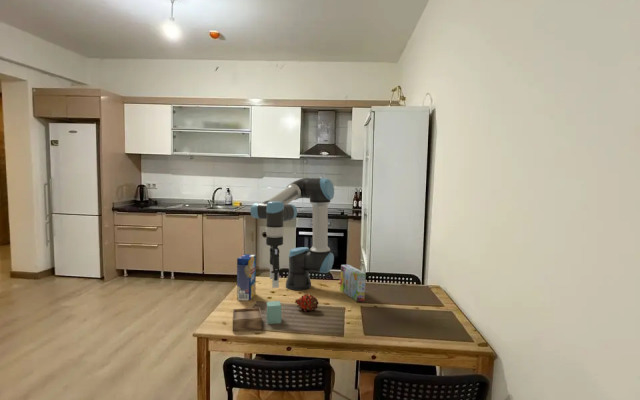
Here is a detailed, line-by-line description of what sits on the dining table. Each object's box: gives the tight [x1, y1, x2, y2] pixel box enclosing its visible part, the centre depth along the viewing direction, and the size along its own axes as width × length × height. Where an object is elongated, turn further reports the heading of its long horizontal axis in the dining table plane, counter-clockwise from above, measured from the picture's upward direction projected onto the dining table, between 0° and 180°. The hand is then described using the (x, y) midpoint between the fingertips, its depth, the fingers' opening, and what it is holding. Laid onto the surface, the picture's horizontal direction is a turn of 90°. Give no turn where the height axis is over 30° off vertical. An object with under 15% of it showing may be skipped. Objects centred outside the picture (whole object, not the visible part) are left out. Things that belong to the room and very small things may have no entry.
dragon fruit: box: [294, 293, 319, 312], centre depth 175 cm, size 8×8×12 cm
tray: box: [232, 307, 263, 332], centre depth 157 cm, size 12×12×5 cm
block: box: [266, 300, 282, 325], centre depth 161 cm, size 6×6×8 cm
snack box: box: [339, 264, 367, 302], centre depth 198 cm, size 21×6×15 cm, turn 22°
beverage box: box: [236, 253, 257, 301], centre depth 192 cm, size 7×11×22 cm, turn 174°
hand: (274, 282), depth 160 cm, fingers open, 13 cm apart
